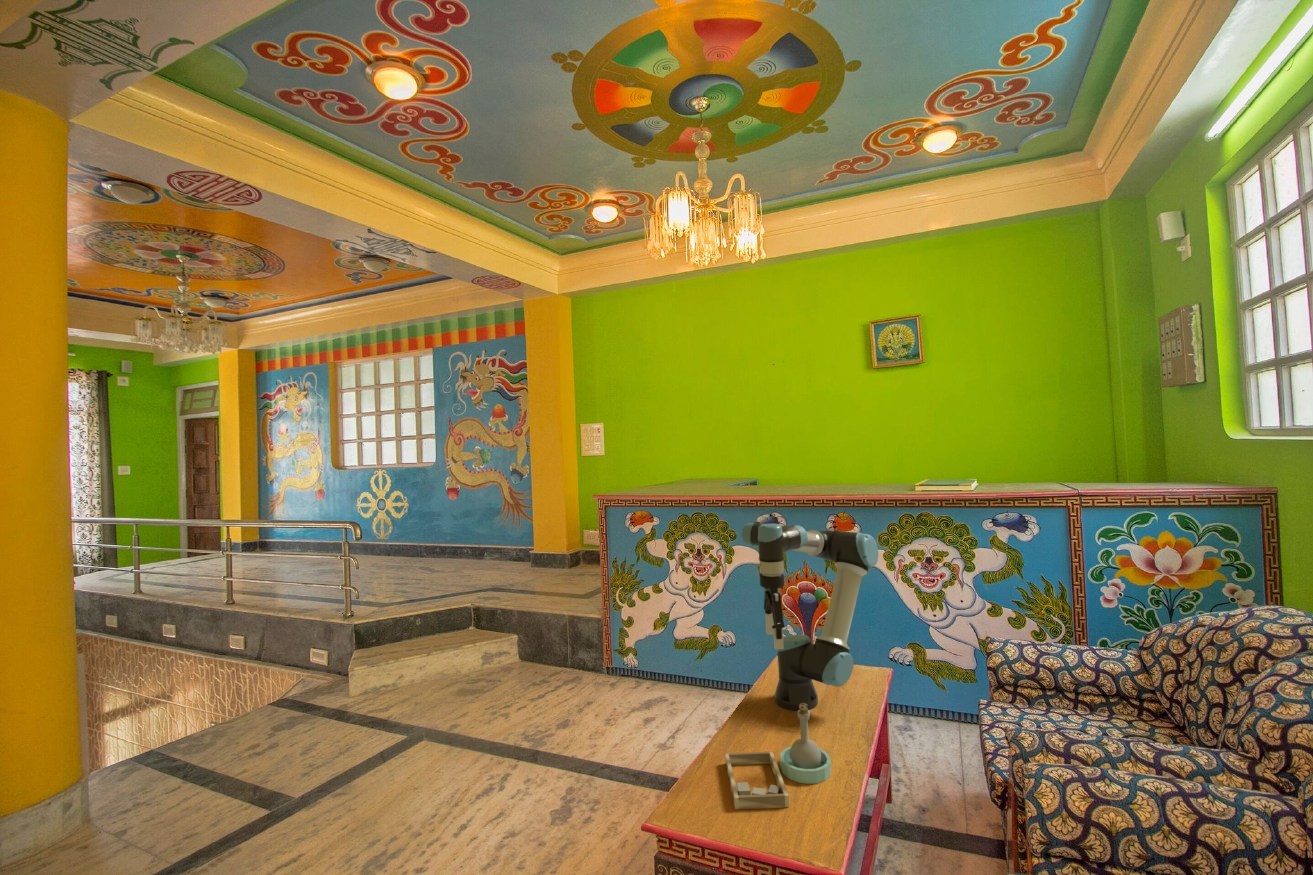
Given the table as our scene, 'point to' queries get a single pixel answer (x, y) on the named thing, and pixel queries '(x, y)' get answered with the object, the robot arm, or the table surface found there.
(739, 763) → the tray
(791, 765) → the bowl
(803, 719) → the potion bottle
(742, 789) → the grey block
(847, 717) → the table surface
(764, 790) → the pebble
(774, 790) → the pebble
